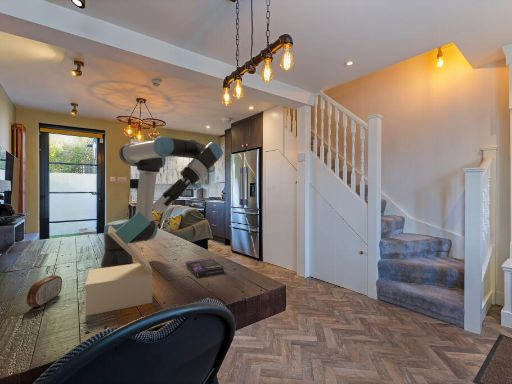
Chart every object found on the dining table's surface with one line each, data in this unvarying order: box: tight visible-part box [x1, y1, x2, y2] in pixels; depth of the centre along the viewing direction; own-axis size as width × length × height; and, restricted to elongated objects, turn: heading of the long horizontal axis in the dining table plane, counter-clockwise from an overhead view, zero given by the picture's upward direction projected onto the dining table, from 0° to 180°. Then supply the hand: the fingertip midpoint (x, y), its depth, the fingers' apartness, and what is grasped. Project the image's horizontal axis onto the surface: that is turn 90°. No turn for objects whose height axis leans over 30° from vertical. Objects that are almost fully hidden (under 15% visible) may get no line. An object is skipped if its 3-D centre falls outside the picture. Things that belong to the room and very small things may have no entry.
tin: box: [26, 274, 63, 308], centre depth 96 cm, size 15×3×8 cm, turn 5°
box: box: [185, 257, 225, 278], centre depth 132 cm, size 14×4×20 cm
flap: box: [108, 211, 154, 274], centre depth 101 cm, size 20×18×12 cm
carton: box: [84, 262, 153, 317], centre depth 98 cm, size 20×18×10 cm
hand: (155, 210), depth 103 cm, fingers open, 13 cm apart
